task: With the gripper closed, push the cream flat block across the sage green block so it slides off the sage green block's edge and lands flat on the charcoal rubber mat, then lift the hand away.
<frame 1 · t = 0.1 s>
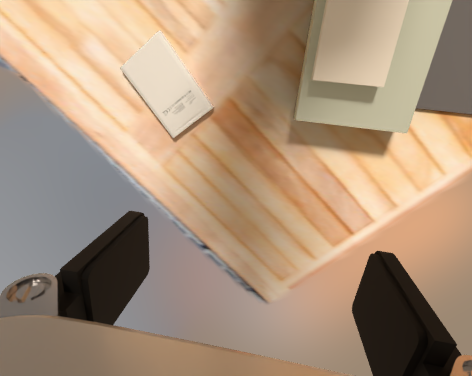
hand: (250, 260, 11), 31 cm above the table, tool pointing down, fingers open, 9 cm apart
external hard drive: (170, 88, 40), on the table
cream flat block: (357, 27, 30), point 4 cm above the table, touching sage green block
sage green block: (364, 35, 34), on the table
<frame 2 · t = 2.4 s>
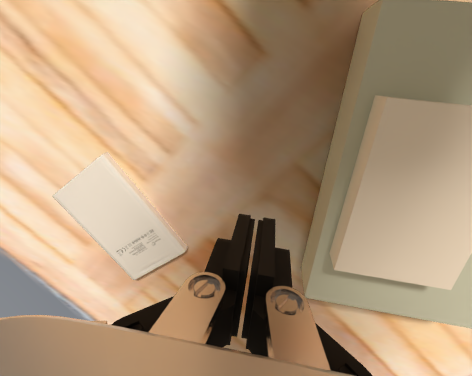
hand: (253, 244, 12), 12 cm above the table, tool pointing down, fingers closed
external hard drive: (127, 216, 29), on the table
cream flat block: (408, 192, 18), point 4 cm above the table, touching sage green block
sage green block: (412, 176, 22), on the table
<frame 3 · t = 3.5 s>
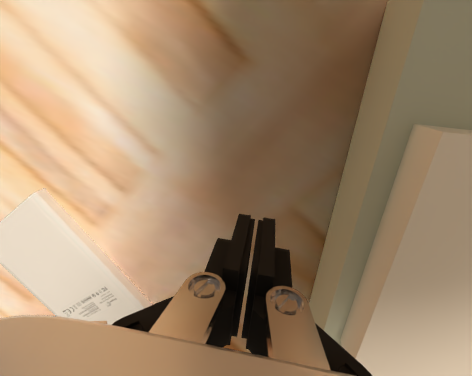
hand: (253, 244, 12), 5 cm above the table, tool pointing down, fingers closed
external hard drive: (77, 266, 22), on the table
cream flat block: (459, 265, 12), point 4 cm above the table, touching sage green block
sage green block: (452, 228, 16), on the table
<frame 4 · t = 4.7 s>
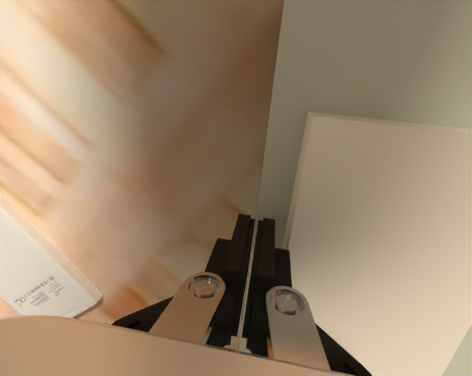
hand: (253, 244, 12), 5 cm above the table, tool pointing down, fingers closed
external hard drive: (29, 256, 23), on the table
cream flat block: (367, 249, 13), point 4 cm above the table, touching gripper
sage green block: (372, 214, 16), on the table
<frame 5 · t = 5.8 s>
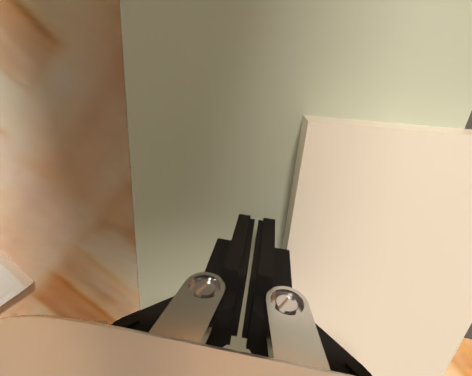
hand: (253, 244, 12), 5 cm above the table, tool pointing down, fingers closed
cream flat block: (366, 249, 13), point 4 cm above the table, touching gripper
sage green block: (268, 199, 17), on the table
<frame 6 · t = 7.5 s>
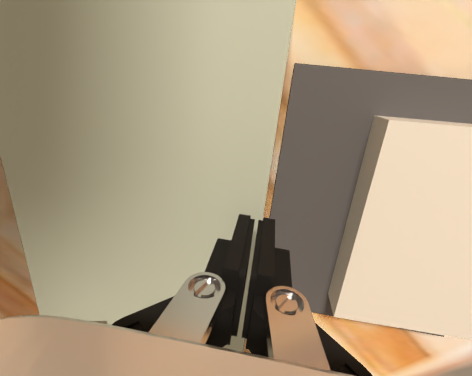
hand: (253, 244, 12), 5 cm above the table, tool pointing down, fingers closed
cream flat block: (436, 244, 14), point 2 cm above the table, tilted 180°, touching mat
mat: (378, 217, 16), on the table
sage green block: (160, 185, 18), on the table
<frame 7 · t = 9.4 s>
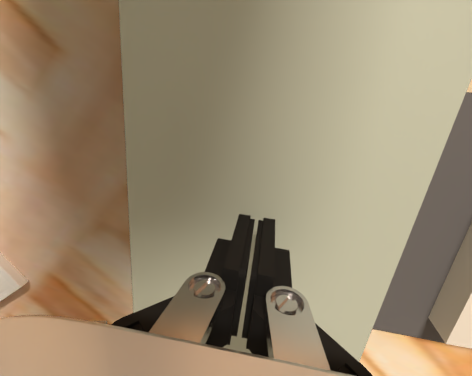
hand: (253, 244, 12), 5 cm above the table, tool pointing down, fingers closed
sage green block: (261, 205, 17), on the table
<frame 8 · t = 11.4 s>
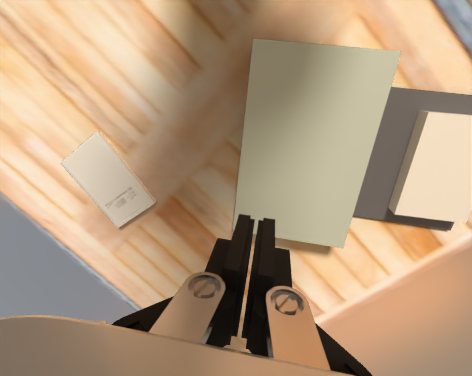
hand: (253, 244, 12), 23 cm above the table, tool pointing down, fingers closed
external hard drive: (113, 180, 40), on the table
cream flat block: (448, 171, 29), point 2 cm above the table, tilted 180°, touching mat
mat: (417, 162, 32), on the table
sage green block: (300, 147, 33), on the table
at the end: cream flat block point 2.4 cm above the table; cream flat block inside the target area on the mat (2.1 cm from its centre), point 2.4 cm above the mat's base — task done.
